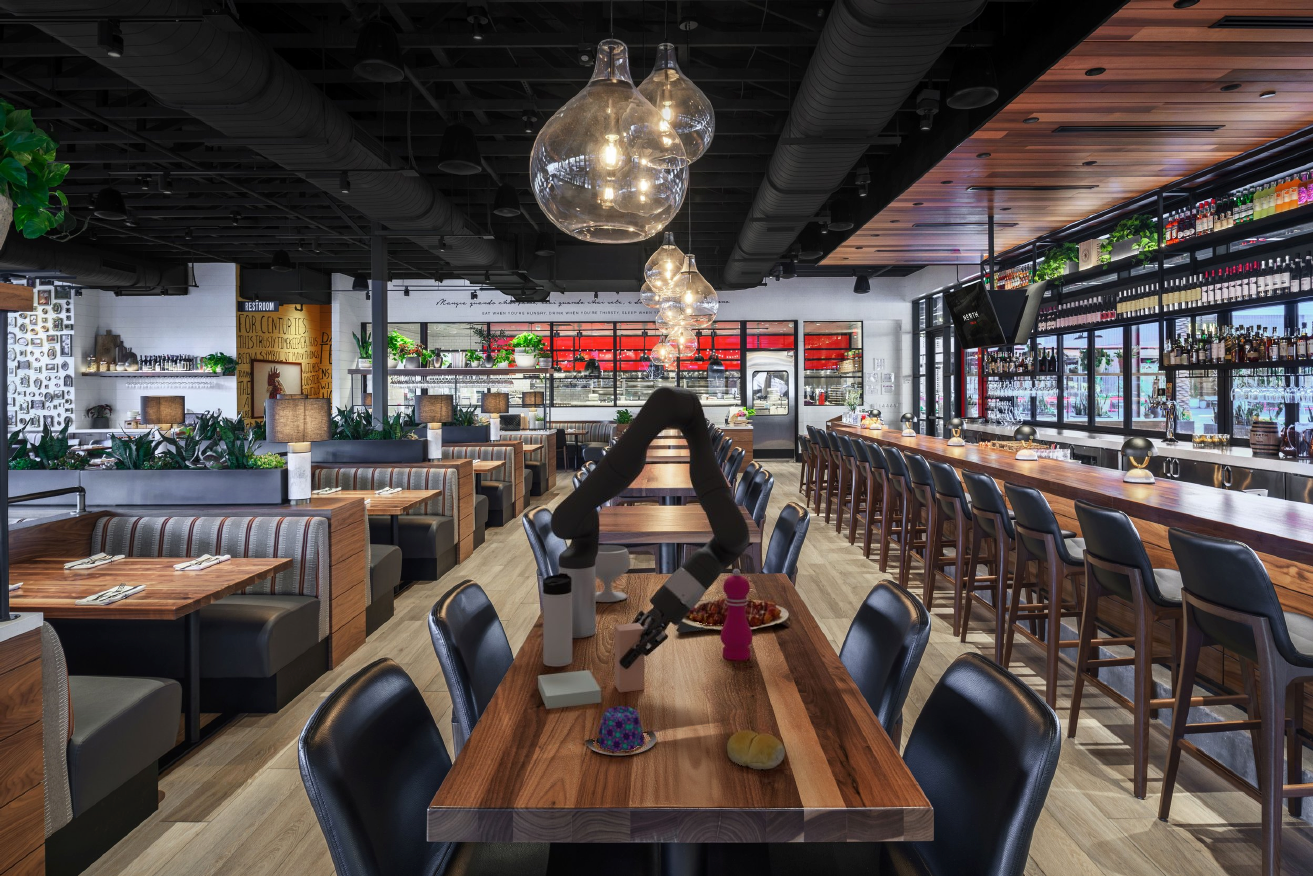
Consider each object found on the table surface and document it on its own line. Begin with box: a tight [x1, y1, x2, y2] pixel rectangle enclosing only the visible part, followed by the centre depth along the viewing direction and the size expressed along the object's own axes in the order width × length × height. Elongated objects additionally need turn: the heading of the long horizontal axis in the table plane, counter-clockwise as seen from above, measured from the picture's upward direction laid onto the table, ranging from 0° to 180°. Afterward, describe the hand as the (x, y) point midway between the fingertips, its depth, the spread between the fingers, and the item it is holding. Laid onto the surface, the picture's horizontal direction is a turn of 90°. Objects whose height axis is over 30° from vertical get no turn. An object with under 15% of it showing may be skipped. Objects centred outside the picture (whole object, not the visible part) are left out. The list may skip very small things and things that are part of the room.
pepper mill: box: [720, 568, 753, 662], centre depth 165 cm, size 7×7×20 cm
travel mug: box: [542, 573, 573, 667], centre depth 158 cm, size 6×7×20 cm
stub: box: [613, 623, 645, 693], centre depth 142 cm, size 5×4×12 cm
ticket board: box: [537, 669, 602, 710], centre depth 141 cm, size 32×12×4 cm, turn 107°
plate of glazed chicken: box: [675, 597, 791, 633], centre depth 194 cm, size 31×35×7 cm
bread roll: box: [726, 729, 786, 770], centre depth 116 cm, size 8×9×4 cm
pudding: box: [584, 705, 657, 756], centre depth 122 cm, size 12×12×5 cm
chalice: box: [595, 544, 632, 603], centre depth 217 cm, size 14×14×15 cm
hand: (619, 661), depth 142 cm, fingers closed on stub, 4 cm apart
